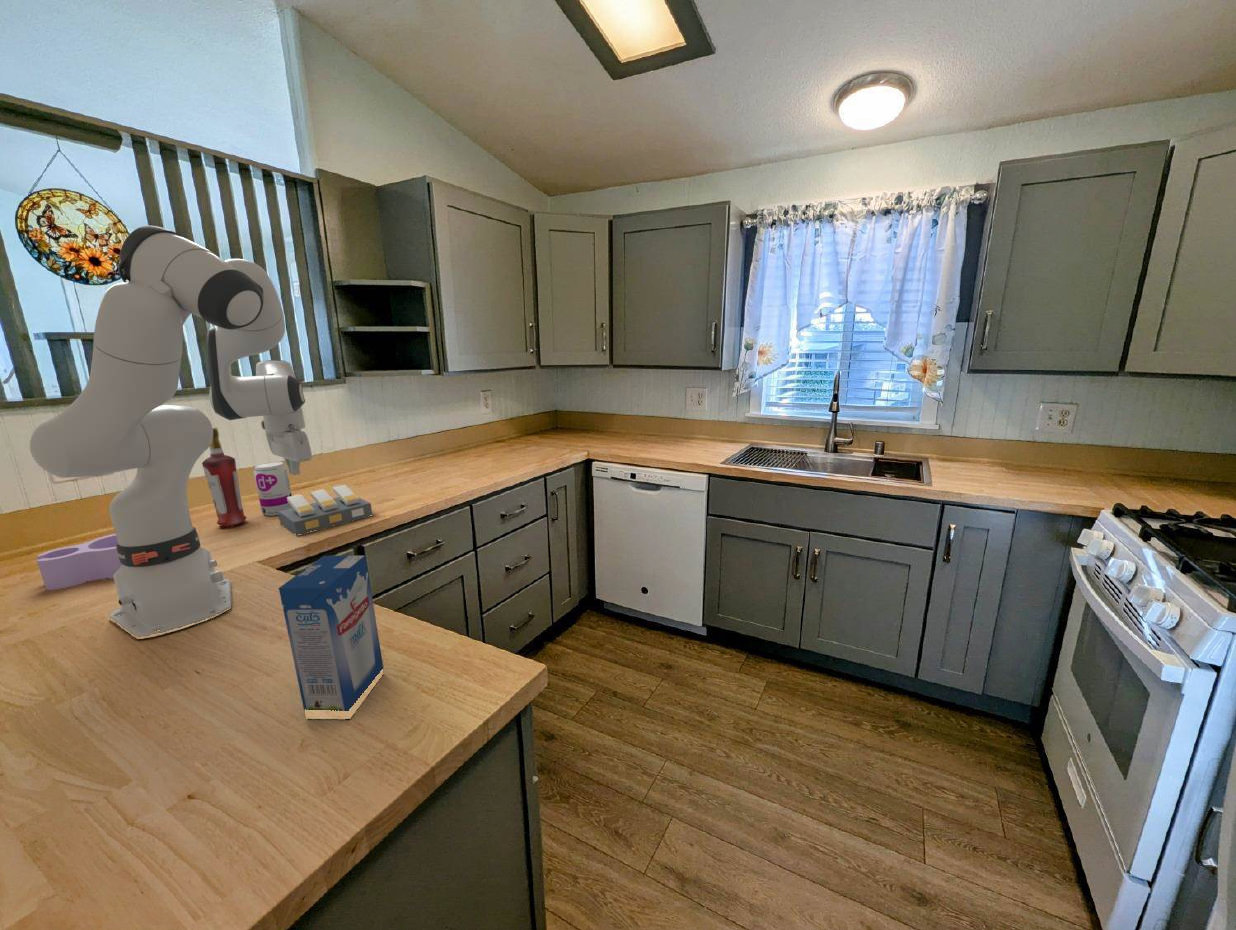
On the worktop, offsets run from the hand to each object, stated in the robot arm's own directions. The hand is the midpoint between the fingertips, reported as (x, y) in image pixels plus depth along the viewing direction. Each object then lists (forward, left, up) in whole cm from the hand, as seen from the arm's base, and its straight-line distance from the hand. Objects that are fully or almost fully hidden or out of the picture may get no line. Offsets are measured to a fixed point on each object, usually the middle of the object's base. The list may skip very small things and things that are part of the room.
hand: (294, 474), depth 137 cm
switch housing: (+3, -7, -16) cm, 18 cm away
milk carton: (-81, +19, -16) cm, 85 cm away
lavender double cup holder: (+7, +39, -16) cm, 43 cm away
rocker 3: (+3, -13, -10) cm, 16 cm away
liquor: (+21, +12, -16) cm, 29 cm away
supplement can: (+23, 0, -16) cm, 28 cm away
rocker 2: (+3, -7, -10) cm, 12 cm away
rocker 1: (+3, -1, -10) cm, 10 cm away
